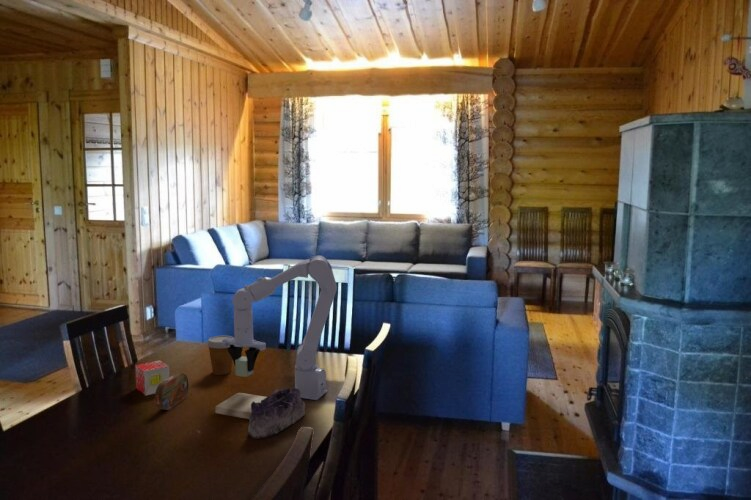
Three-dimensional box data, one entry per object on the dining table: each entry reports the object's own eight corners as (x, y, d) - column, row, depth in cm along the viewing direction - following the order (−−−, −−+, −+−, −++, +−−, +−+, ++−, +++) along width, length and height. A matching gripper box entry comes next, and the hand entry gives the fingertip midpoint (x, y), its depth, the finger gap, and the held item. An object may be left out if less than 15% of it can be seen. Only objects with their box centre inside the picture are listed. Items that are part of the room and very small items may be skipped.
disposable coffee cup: (241, 370, 209) (240, 337, 207) (221, 378, 201) (220, 344, 199) (222, 365, 214) (221, 333, 212) (202, 373, 206) (201, 339, 204)
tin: (163, 414, 171) (162, 386, 170) (153, 413, 171) (152, 385, 170) (189, 395, 185) (189, 369, 184) (180, 394, 186) (179, 369, 185)
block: (253, 372, 186) (253, 357, 185) (246, 377, 182) (246, 361, 182) (242, 371, 187) (242, 356, 187) (235, 375, 184) (235, 359, 183)
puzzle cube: (145, 395, 185) (144, 371, 184) (136, 388, 191) (135, 365, 190) (170, 389, 190) (169, 366, 189) (160, 383, 196) (159, 360, 195)
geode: (276, 444, 153) (270, 407, 152) (239, 442, 157) (233, 406, 156) (313, 412, 171) (308, 379, 170) (279, 411, 176) (274, 379, 175)
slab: (272, 405, 179) (272, 397, 179) (251, 420, 168) (250, 412, 168) (238, 400, 183) (238, 392, 183) (215, 414, 172) (215, 406, 172)
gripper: (216, 328, 182) (217, 370, 184) (256, 333, 177) (257, 376, 178) (229, 322, 188) (230, 364, 190) (269, 327, 183) (269, 369, 185)
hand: (244, 369), depth 185 cm, fingers closed on block, 4 cm apart
